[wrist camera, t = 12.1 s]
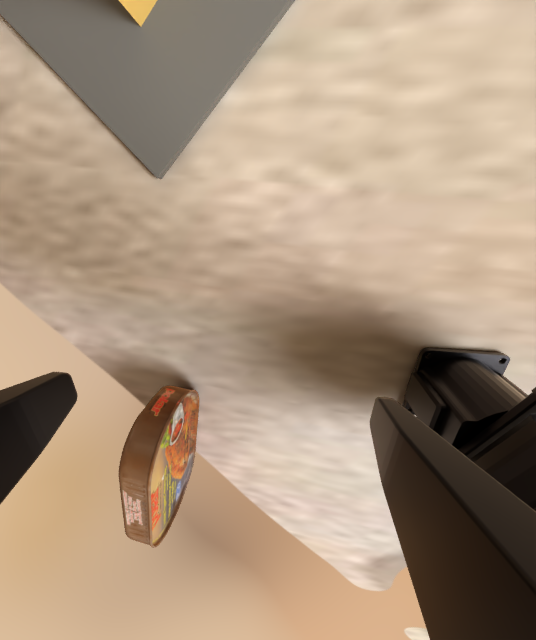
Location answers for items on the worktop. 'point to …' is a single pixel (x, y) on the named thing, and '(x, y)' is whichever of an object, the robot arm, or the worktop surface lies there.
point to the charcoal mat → (147, 61)
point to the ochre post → (138, 8)
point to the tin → (158, 463)
